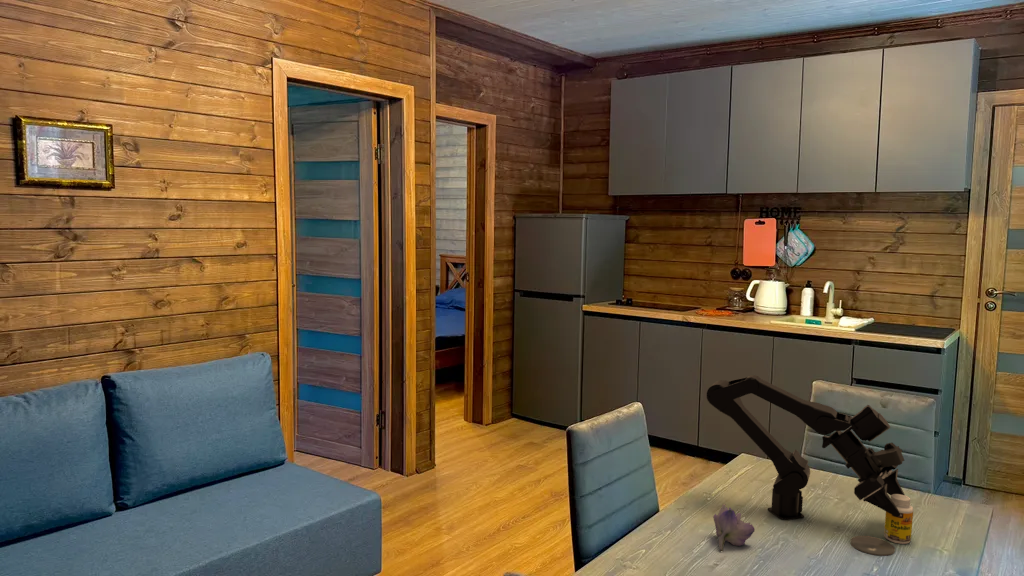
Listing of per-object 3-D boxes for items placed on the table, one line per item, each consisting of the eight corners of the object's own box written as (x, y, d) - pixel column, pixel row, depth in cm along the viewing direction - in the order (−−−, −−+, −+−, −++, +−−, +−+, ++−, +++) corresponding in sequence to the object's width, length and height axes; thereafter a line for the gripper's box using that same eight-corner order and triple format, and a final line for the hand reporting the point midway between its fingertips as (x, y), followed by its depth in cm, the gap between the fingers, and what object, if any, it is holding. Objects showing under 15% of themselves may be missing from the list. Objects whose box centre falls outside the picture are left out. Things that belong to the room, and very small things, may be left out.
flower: (739, 531, 156) (742, 497, 164) (702, 538, 161) (706, 504, 169) (758, 561, 159) (759, 525, 167) (721, 566, 163) (724, 531, 172)
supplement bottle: (886, 542, 167) (889, 499, 166) (881, 532, 173) (884, 491, 172) (913, 546, 166) (916, 503, 165) (908, 536, 171) (911, 494, 170)
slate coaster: (869, 557, 160) (869, 555, 160) (841, 539, 168) (841, 537, 168) (904, 553, 162) (904, 551, 162) (874, 536, 171) (874, 534, 171)
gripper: (872, 443, 162) (925, 504, 157) (890, 425, 177) (939, 480, 171) (833, 470, 168) (883, 529, 162) (853, 450, 183) (899, 504, 177)
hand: (902, 509), depth 168 cm, fingers open, 9 cm apart
